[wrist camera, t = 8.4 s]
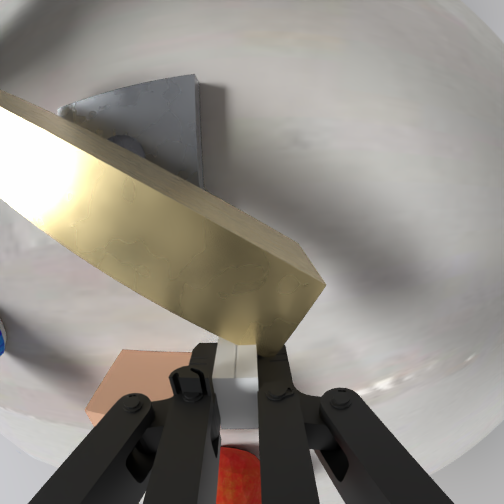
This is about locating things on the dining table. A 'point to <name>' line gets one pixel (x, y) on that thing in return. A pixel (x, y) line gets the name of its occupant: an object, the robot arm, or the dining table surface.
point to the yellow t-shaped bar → (154, 230)
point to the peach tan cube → (136, 379)
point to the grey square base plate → (149, 122)
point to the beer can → (2, 338)
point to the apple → (238, 477)
